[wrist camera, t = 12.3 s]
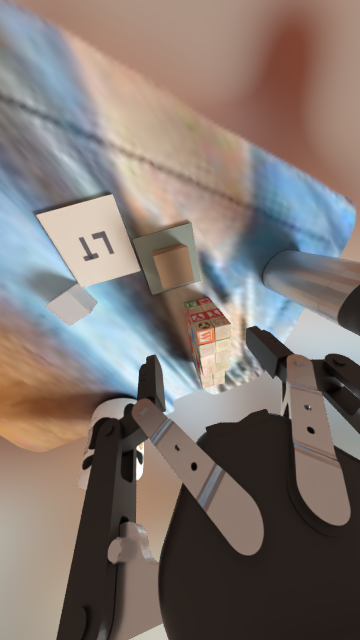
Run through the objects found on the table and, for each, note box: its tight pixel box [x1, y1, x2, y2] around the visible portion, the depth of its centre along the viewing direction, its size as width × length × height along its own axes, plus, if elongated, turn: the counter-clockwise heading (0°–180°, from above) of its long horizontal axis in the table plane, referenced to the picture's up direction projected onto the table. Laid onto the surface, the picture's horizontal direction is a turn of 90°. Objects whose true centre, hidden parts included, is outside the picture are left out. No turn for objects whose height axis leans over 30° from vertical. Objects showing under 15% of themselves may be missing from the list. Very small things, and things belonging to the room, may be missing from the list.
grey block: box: [45, 283, 97, 326], centre depth 29 cm, size 5×5×5 cm
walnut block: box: [152, 243, 194, 289], centre depth 28 cm, size 6×6×6 cm
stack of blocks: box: [184, 297, 231, 388], centre depth 37 cm, size 21×6×12 cm, turn 9°
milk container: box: [77, 397, 144, 490], centre depth 45 cm, size 17×17×18 cm
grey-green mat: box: [132, 223, 201, 295], centre depth 30 cm, size 11×11×1 cm
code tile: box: [36, 194, 141, 288], centre depth 27 cm, size 12×12×1 cm
